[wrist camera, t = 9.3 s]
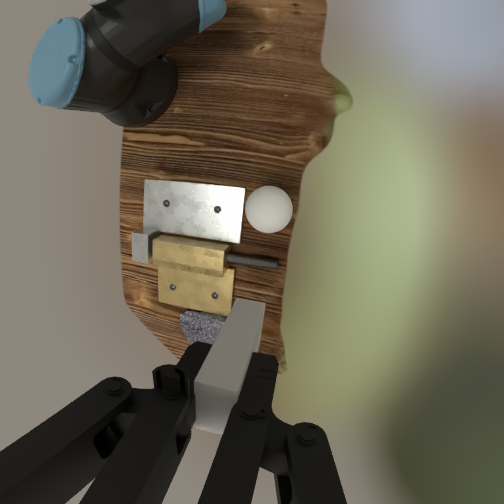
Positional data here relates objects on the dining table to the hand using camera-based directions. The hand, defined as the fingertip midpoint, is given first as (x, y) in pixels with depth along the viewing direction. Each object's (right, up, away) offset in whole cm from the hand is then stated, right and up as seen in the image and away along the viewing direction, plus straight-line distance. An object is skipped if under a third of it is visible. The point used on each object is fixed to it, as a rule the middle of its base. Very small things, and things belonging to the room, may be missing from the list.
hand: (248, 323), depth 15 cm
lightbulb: (+4, +12, +30) cm, 33 cm away
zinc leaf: (-7, +8, +33) cm, 35 cm away
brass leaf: (-10, 0, +36) cm, 37 cm away
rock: (-7, -11, +40) cm, 42 cm away
